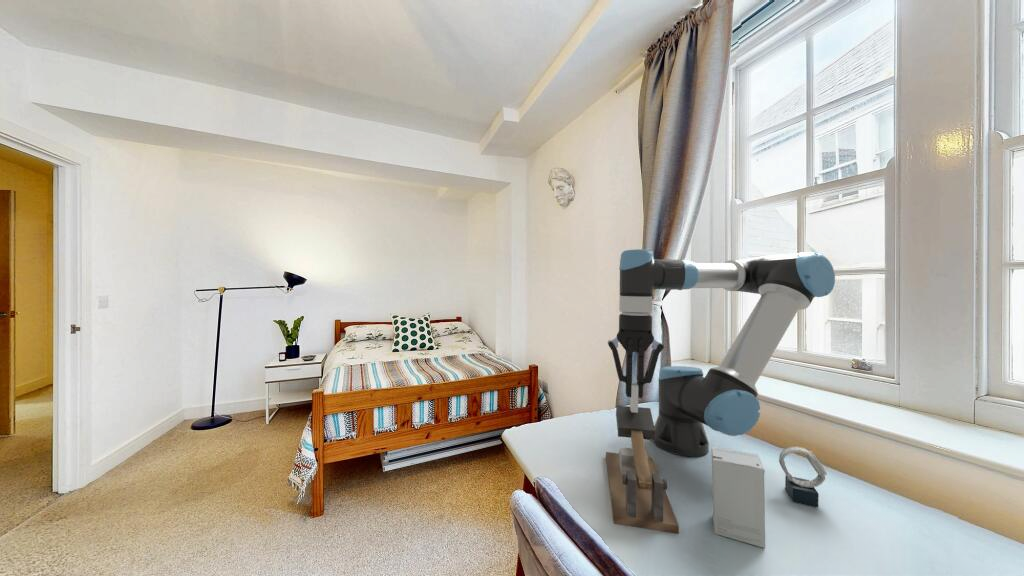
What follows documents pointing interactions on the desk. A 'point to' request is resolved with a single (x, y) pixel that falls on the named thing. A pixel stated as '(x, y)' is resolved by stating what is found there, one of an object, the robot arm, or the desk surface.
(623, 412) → the lever
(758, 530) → the skincare box
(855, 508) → the desk surface
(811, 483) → the watch
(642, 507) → the press base
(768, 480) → the desk surface
